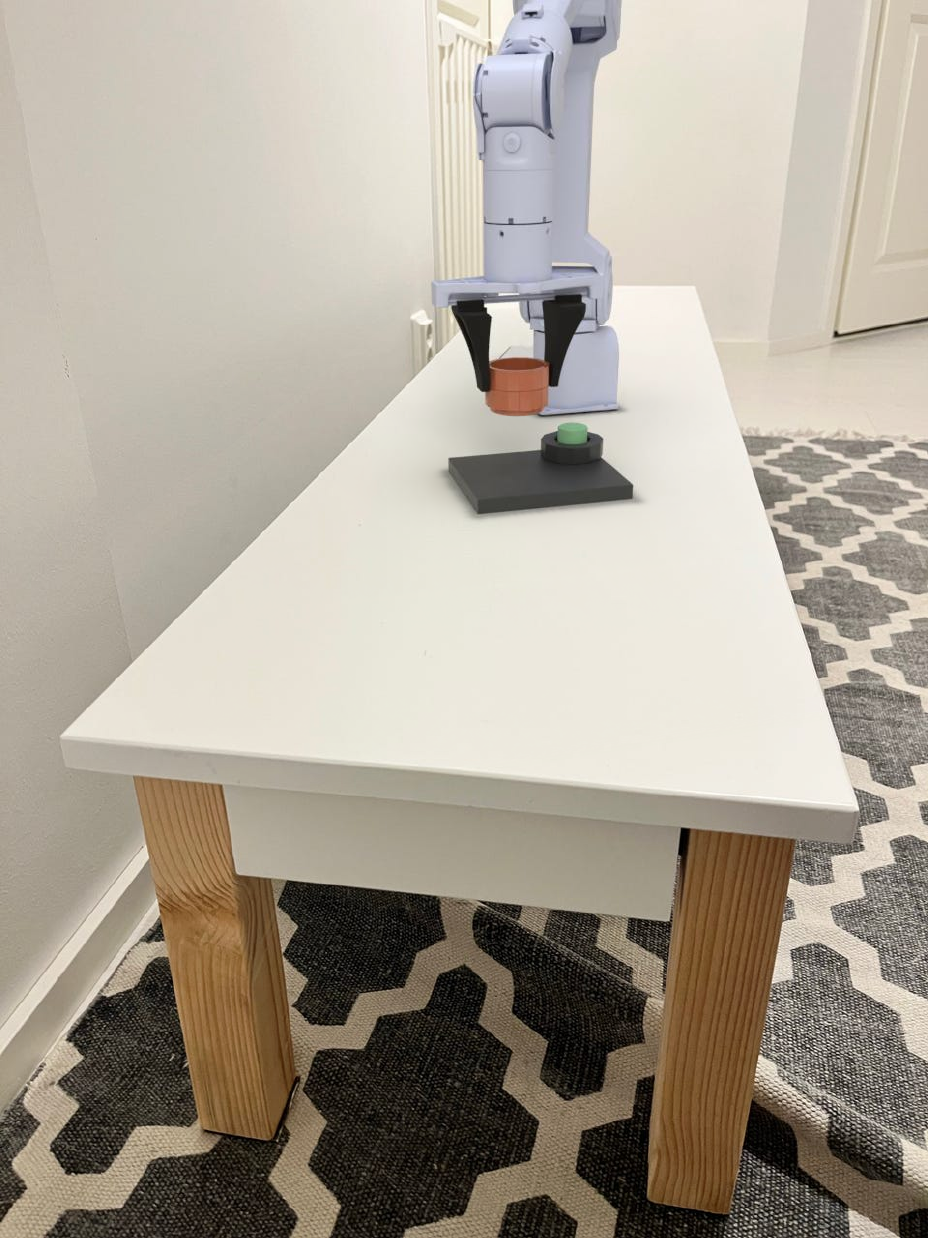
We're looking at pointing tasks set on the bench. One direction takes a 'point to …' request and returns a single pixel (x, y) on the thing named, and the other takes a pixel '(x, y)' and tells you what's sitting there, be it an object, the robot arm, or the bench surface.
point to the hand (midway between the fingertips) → (516, 386)
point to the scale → (540, 477)
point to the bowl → (518, 386)
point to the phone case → (518, 352)
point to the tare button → (572, 433)
